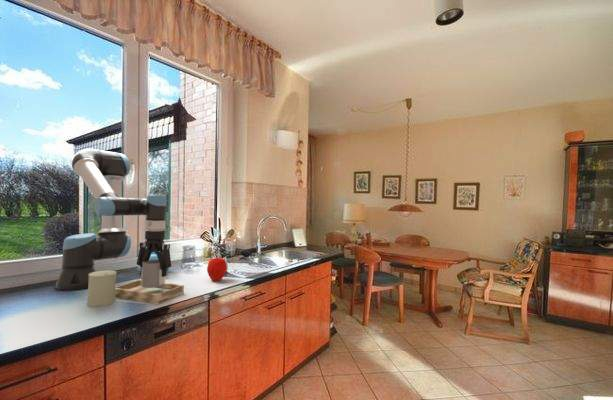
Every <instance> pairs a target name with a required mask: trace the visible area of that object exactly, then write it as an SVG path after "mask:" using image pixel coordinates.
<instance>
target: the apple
mask: <svg viewBox="0 0 613 400" xmlns="http://www.w3.org/2000/svg"><path fill="white" fill-rule="evenodd" d="M227 267H228V266H227V262H226V259H224V258H222V257H213V258H211V259H210V260H209V261H208V264H207V267H206V272H207V275H208V276H209V277H208V278H209V279H210V280H211V281H213V282H216V281H220V280H222V279H223V278H224V276H225V274H226V273H227V270H228V269H227Z"/></svg>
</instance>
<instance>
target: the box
mask: <svg viewBox="0 0 613 400" xmlns="http://www.w3.org/2000/svg"><path fill="white" fill-rule="evenodd" d="M184 289H185V285H184V284H179V283H170V282H169V283H168V282H165V283H164V284H163V285H162V286H159V287H153V288H145V287H142V283H141V278H140V279H136V280H134V281H130V282H126V283H124V284H123V283H122V284H120V285H116V291H115V299H116V298H117V299H122V300H130V301H135V302H144V303H147V304H156V305H160V304H162V303H165V302H167V301H170V300H171V299H173V298H176V297H179V296H180V295H182V294H184V293H185V292H184V291H185V290H184Z"/></svg>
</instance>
